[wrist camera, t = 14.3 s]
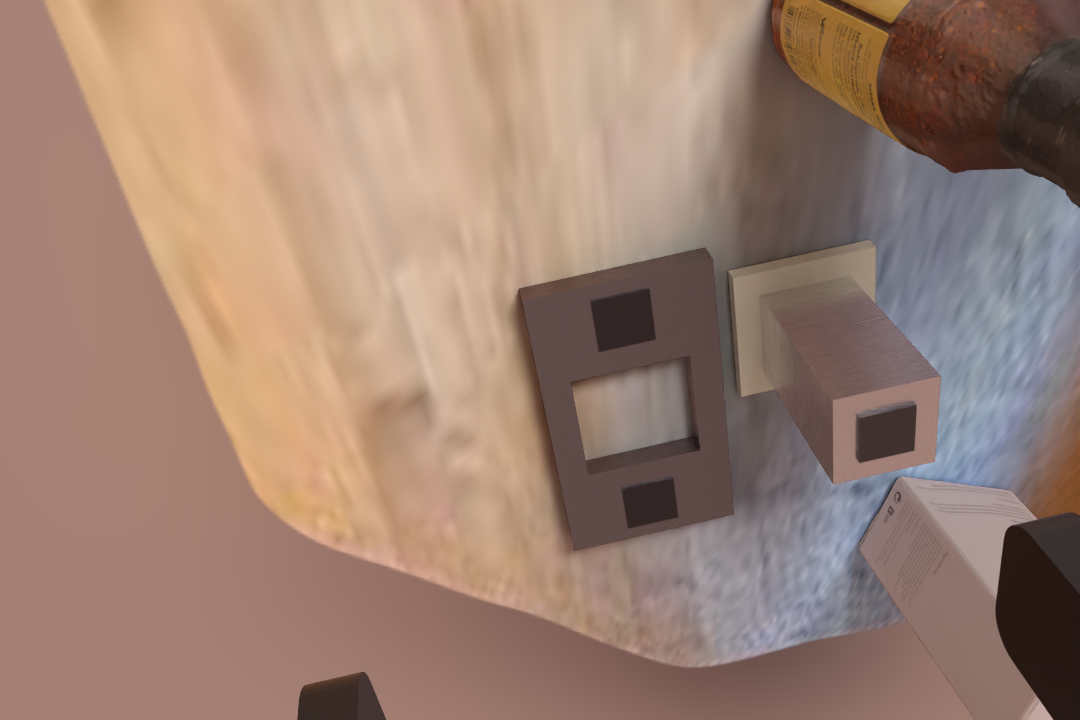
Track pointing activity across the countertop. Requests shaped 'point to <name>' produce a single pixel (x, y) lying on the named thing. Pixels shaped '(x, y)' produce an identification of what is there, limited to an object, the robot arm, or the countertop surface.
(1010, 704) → the skincare box
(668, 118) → the countertop surface
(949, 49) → the sauce bottle
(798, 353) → the square post
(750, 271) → the pad
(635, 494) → the rectangular plate with hole
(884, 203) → the countertop surface
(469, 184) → the countertop surface
